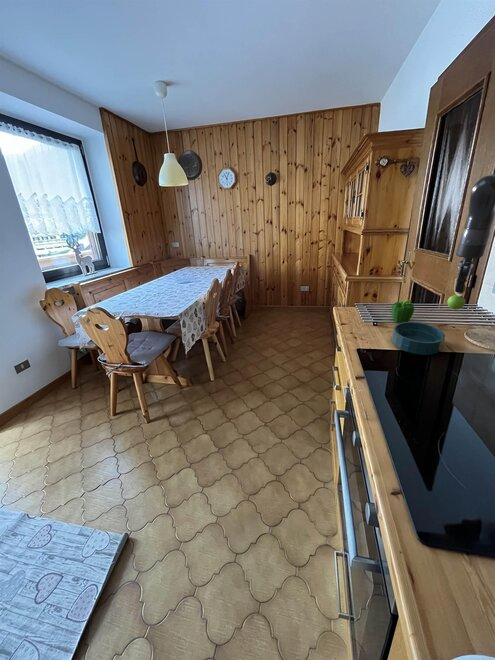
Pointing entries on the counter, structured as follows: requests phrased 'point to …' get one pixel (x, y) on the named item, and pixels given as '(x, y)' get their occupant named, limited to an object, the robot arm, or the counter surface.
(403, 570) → the counter surface
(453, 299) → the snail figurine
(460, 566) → the counter surface
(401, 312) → the bell pepper
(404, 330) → the bowl
